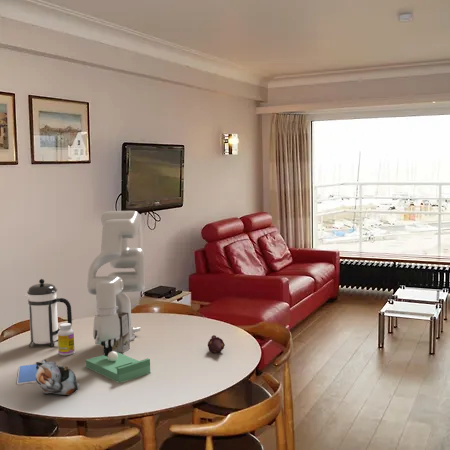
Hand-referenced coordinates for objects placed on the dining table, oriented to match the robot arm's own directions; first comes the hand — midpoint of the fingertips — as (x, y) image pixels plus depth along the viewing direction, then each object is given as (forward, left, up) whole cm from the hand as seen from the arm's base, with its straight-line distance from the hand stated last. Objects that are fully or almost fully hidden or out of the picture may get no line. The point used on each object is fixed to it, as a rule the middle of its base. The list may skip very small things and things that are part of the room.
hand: (108, 355), depth 225 cm
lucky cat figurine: (+27, +9, -5) cm, 29 cm away
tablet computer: (+24, -14, -5) cm, 29 cm away
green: (0, +6, -4) cm, 8 cm away
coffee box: (-14, -15, -5) cm, 21 cm away
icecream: (-41, +19, -5) cm, 46 cm away
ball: (0, +3, +2) cm, 4 cm away
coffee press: (+3, -46, -5) cm, 46 cm away
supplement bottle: (+4, -27, -5) cm, 27 cm away
